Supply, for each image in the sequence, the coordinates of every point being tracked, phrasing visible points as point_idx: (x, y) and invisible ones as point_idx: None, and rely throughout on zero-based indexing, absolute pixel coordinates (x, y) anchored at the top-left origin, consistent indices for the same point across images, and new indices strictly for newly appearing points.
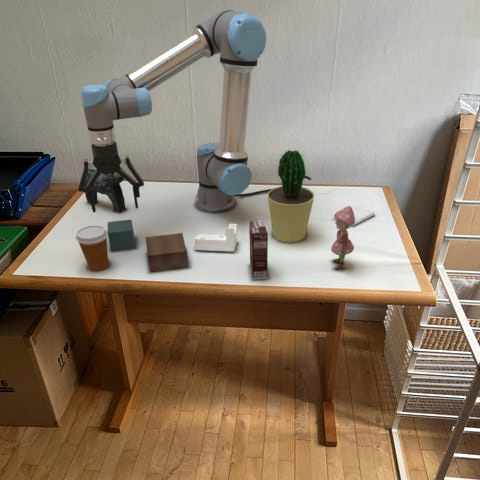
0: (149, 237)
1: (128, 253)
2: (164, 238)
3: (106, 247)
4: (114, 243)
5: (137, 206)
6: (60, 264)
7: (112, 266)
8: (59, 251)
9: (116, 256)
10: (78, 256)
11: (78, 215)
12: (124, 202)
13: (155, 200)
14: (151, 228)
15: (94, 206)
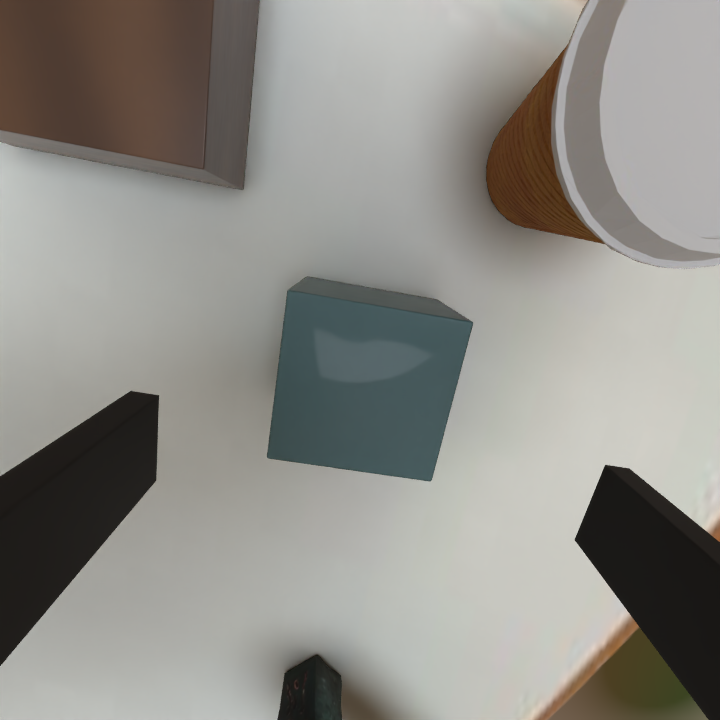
0: (172, 148)
1: (354, 238)
2: (44, 67)
3: (542, 79)
4: (422, 301)
5: (121, 401)
6: (717, 272)
7: (473, 118)
8: (674, 408)
9: (425, 232)
10: (609, 319)
11: (496, 685)
12: (279, 711)
13: (137, 703)
14: (187, 461)
15: (632, 529)
